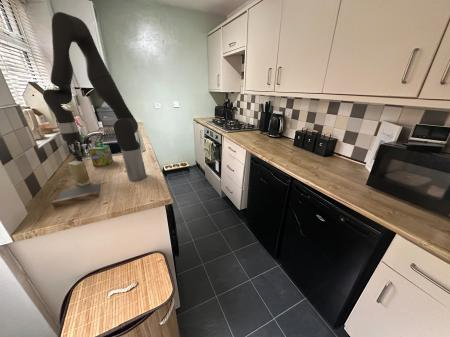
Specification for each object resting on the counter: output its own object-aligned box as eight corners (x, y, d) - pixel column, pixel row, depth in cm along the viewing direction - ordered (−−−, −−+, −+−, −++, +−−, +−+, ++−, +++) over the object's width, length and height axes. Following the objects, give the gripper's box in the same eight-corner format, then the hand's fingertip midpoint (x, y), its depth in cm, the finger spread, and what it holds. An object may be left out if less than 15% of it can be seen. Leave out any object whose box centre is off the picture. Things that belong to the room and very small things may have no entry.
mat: (100, 184, 96) (100, 183, 96) (98, 194, 86) (98, 194, 86) (62, 191, 89) (61, 191, 89) (55, 204, 79) (55, 203, 79)
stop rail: (98, 195, 86) (97, 191, 85) (98, 197, 84) (96, 192, 83) (55, 205, 79) (52, 200, 78) (54, 207, 77) (51, 202, 76)
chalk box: (93, 166, 117) (86, 144, 111) (99, 161, 125) (92, 140, 119) (108, 165, 119) (102, 143, 113) (113, 160, 127) (108, 139, 121)
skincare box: (75, 184, 95) (66, 163, 90) (83, 180, 99) (75, 160, 94) (83, 186, 93) (75, 165, 88) (91, 182, 97) (84, 161, 92)
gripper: (76, 132, 90) (87, 164, 97) (80, 128, 100) (89, 157, 107) (57, 134, 86) (69, 167, 94) (63, 129, 97) (74, 159, 104)
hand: (80, 161), depth 100 cm, fingers closed
